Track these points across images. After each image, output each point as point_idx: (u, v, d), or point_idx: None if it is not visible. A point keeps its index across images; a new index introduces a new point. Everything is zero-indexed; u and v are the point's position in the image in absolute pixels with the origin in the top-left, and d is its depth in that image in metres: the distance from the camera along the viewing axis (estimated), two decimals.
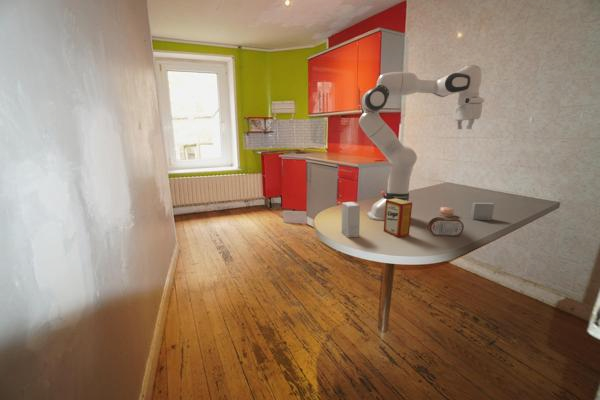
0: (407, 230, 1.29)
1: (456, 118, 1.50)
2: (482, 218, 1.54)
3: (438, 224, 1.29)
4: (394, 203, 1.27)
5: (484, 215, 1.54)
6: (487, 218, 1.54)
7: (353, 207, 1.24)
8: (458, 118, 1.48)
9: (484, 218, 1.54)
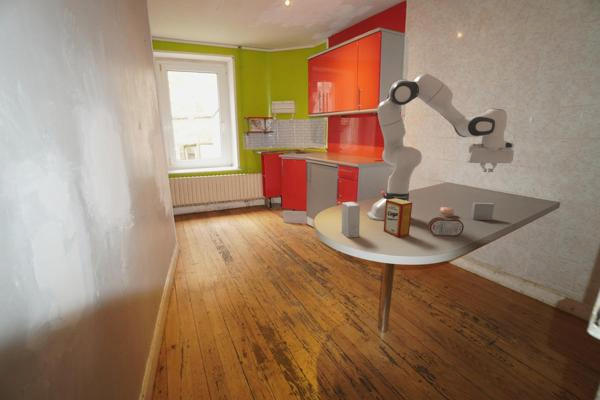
0: (407, 230, 1.29)
1: (479, 161, 1.38)
2: (482, 218, 1.54)
3: (438, 224, 1.29)
4: (394, 203, 1.27)
5: (484, 215, 1.54)
6: (487, 218, 1.54)
7: (353, 207, 1.24)
8: (483, 161, 1.38)
9: (484, 218, 1.54)
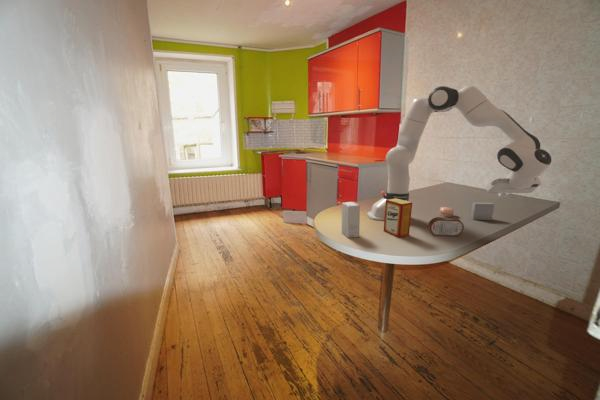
0: (407, 230, 1.29)
1: (497, 192, 1.34)
2: (482, 218, 1.54)
3: (438, 224, 1.29)
4: (394, 203, 1.28)
5: (484, 215, 1.54)
6: (487, 218, 1.54)
7: (353, 207, 1.24)
8: (501, 192, 1.34)
9: (484, 218, 1.54)
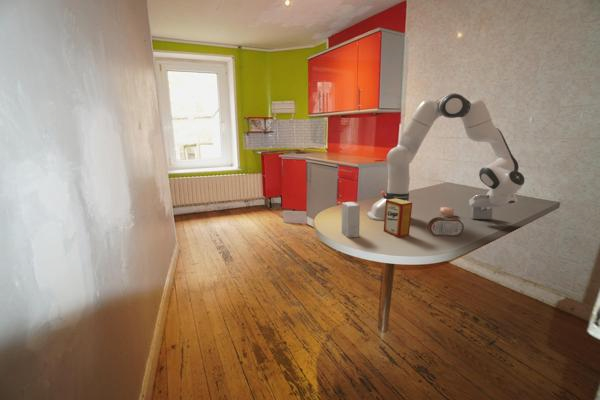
0: (407, 230, 1.29)
1: (478, 206, 1.48)
2: (482, 217, 1.54)
3: (438, 224, 1.29)
4: (394, 203, 1.27)
5: (484, 215, 1.54)
6: (487, 217, 1.54)
7: (353, 207, 1.24)
8: (482, 206, 1.48)
9: (484, 217, 1.54)
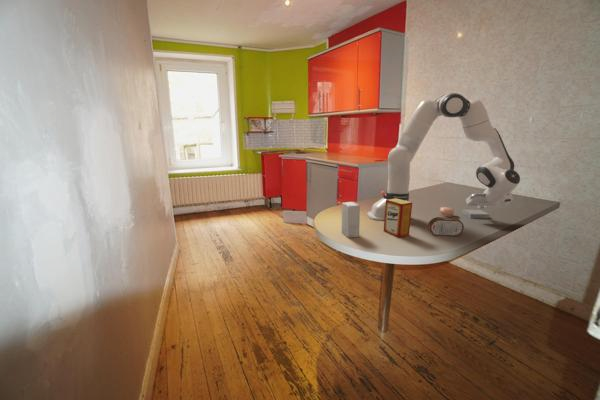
0: (407, 230, 1.29)
1: (475, 205, 1.51)
2: (479, 213, 1.57)
3: (438, 224, 1.29)
4: (394, 203, 1.27)
5: (479, 213, 1.58)
6: (484, 213, 1.57)
7: (353, 207, 1.24)
8: (479, 205, 1.51)
9: (481, 213, 1.57)
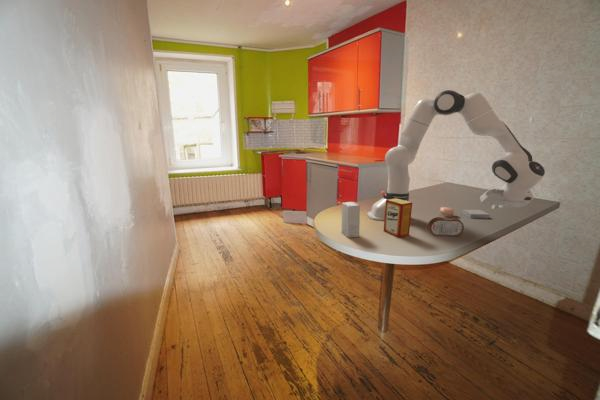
0: (407, 230, 1.29)
1: (490, 203, 1.36)
2: (479, 213, 1.57)
3: (438, 224, 1.29)
4: (394, 203, 1.27)
5: (479, 213, 1.58)
6: (484, 213, 1.57)
7: (353, 207, 1.24)
8: (495, 204, 1.36)
9: (481, 213, 1.57)
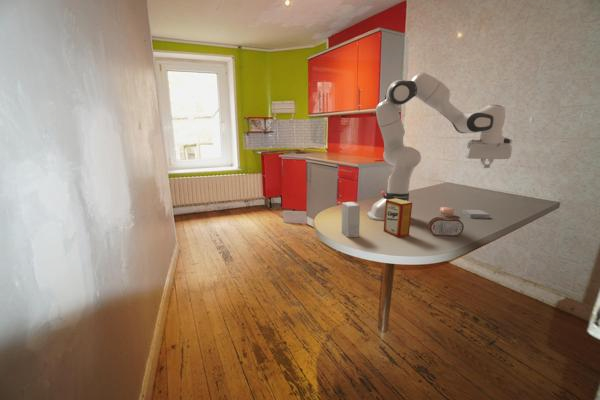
0: (407, 230, 1.29)
1: (477, 156, 1.39)
2: (479, 213, 1.57)
3: (438, 224, 1.29)
4: (394, 203, 1.27)
5: (479, 213, 1.58)
6: (484, 213, 1.57)
7: (353, 207, 1.24)
8: (482, 157, 1.39)
9: (481, 213, 1.57)
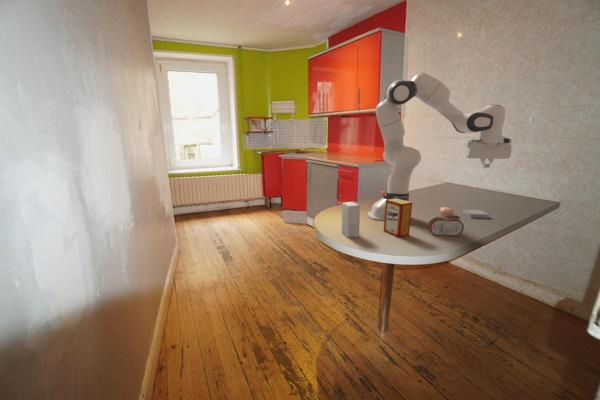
0: (407, 230, 1.29)
1: (477, 156, 1.39)
2: (479, 213, 1.57)
3: (438, 224, 1.29)
4: (394, 203, 1.27)
5: (479, 213, 1.58)
6: (484, 213, 1.57)
7: (353, 207, 1.24)
8: (481, 156, 1.39)
9: (481, 213, 1.57)
